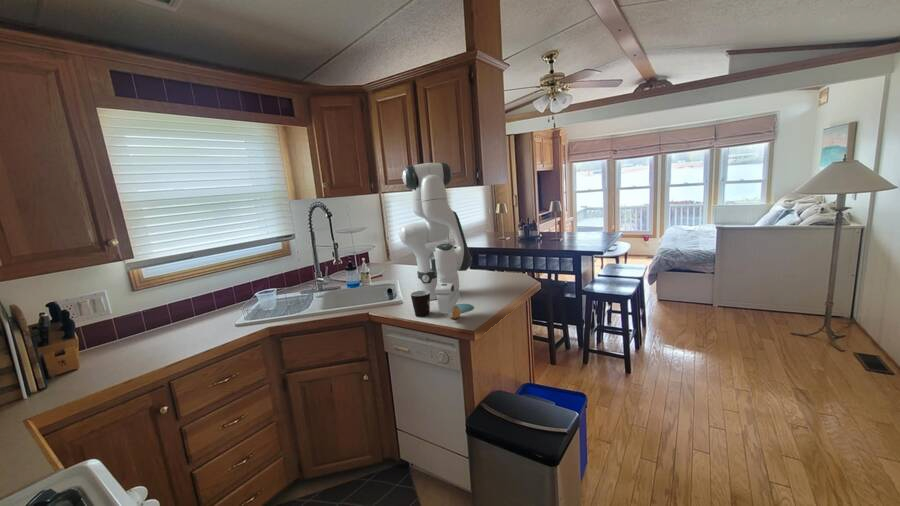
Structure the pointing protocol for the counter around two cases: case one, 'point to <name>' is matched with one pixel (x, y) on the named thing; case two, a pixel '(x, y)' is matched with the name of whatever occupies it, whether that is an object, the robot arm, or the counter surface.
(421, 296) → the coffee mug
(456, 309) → the ball
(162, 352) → the counter surface
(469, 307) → the disc
